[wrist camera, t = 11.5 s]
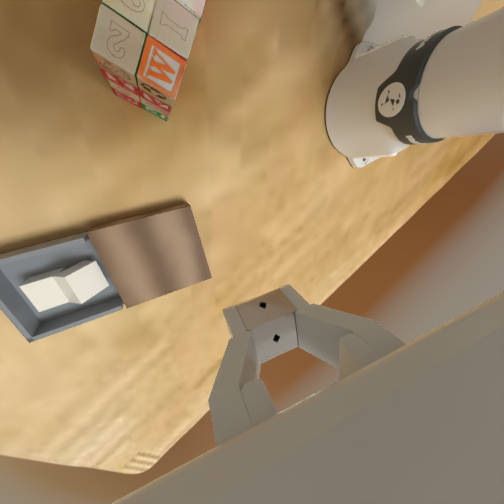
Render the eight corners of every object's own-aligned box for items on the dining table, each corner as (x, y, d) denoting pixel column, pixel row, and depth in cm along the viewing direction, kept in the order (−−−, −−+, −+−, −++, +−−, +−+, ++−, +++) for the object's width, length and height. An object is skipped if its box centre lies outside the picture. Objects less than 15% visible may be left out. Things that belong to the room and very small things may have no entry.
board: (187, 202, 33) (190, 205, 31) (207, 270, 38) (211, 277, 36) (92, 226, 30) (86, 232, 27) (128, 297, 35) (126, 308, 32)
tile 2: (83, 260, 30) (95, 260, 29) (97, 284, 32) (109, 285, 31) (52, 276, 27) (64, 277, 26) (69, 302, 29) (81, 303, 28)
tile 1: (19, 286, 26) (29, 277, 28) (39, 312, 28) (47, 301, 30) (57, 274, 27) (64, 266, 30) (74, 300, 29) (79, 290, 31)
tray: (90, 230, 30) (83, 237, 27) (125, 296, 35) (122, 309, 32) (-13, 256, 27) (-35, 268, 24) (41, 325, 31) (29, 342, 28)
